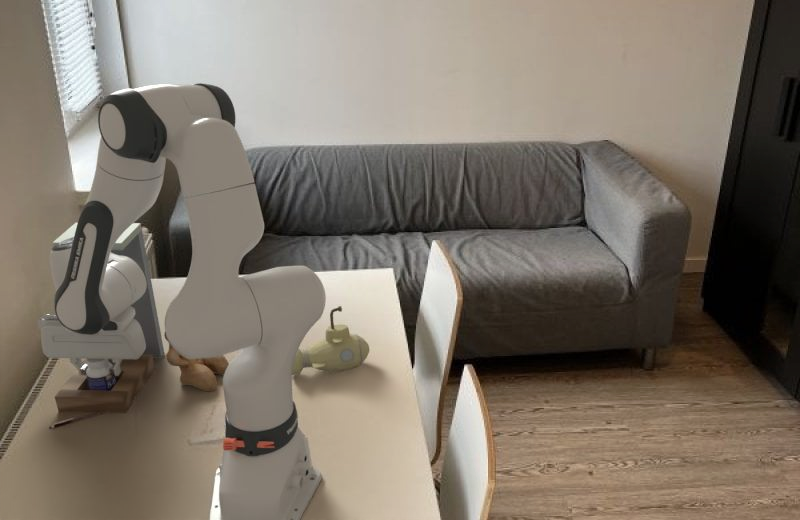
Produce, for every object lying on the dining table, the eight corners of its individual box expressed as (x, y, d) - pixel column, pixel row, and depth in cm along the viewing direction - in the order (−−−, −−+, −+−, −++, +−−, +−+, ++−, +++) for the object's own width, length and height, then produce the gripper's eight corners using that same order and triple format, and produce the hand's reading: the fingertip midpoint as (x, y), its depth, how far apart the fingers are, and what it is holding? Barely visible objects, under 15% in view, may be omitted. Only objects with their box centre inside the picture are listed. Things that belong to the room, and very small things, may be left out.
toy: (374, 373, 165) (371, 312, 159) (294, 387, 161) (287, 325, 155) (365, 352, 173) (362, 293, 166) (287, 366, 168) (281, 305, 162)
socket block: (125, 413, 154) (122, 398, 153) (58, 411, 156) (54, 396, 154) (154, 368, 169) (152, 354, 167) (92, 366, 170) (89, 353, 168)
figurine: (216, 396, 159) (183, 336, 153) (179, 403, 162) (145, 345, 156) (236, 365, 168) (205, 308, 162) (200, 372, 171) (169, 316, 165)
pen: (50, 430, 150) (48, 426, 150) (49, 428, 151) (48, 424, 151) (110, 412, 155) (109, 408, 155) (109, 410, 156) (108, 406, 155)
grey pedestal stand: (148, 378, 165) (121, 243, 152) (84, 377, 166) (52, 242, 153) (164, 353, 174) (140, 223, 161) (104, 352, 175) (75, 222, 162)
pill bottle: (115, 400, 158) (107, 364, 154) (89, 402, 158) (80, 366, 154) (121, 385, 163) (113, 349, 159) (95, 387, 163) (87, 351, 159)
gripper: (27, 322, 150) (44, 381, 156) (129, 323, 149) (142, 383, 155) (43, 306, 156) (58, 364, 162) (142, 307, 154) (153, 366, 160)
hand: (100, 374), depth 158 cm, fingers closed on pill bottle, 5 cm apart
